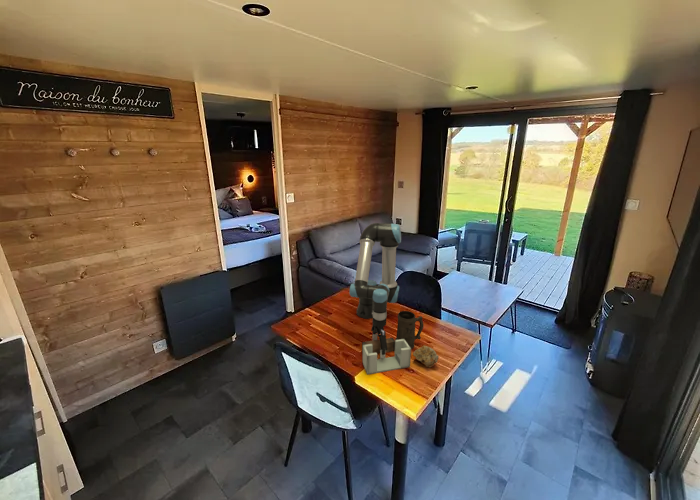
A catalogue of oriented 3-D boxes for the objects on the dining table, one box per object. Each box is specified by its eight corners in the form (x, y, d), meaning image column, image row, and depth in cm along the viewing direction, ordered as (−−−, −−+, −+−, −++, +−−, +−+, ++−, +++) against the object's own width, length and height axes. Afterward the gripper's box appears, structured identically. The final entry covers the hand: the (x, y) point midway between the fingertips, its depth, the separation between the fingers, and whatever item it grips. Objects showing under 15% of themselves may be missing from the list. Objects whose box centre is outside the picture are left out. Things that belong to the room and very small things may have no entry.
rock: (433, 357, 162) (434, 341, 159) (439, 370, 152) (440, 353, 149) (411, 357, 161) (412, 341, 158) (415, 370, 151) (416, 354, 148)
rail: (364, 355, 163) (364, 346, 161) (362, 351, 167) (362, 342, 165) (395, 350, 167) (395, 341, 165) (392, 346, 171) (392, 337, 169)
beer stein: (399, 352, 166) (402, 320, 160) (391, 341, 176) (394, 310, 170) (423, 349, 170) (428, 317, 164) (414, 338, 180) (419, 308, 174)
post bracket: (362, 363, 158) (362, 345, 154) (403, 356, 163) (404, 338, 159) (367, 374, 149) (367, 355, 146) (410, 367, 154) (411, 348, 151)
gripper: (366, 307, 171) (365, 339, 178) (380, 330, 148) (379, 366, 154) (378, 305, 173) (377, 337, 179) (394, 328, 150) (393, 364, 156)
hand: (378, 351), depth 167 cm, fingers open, 13 cm apart
